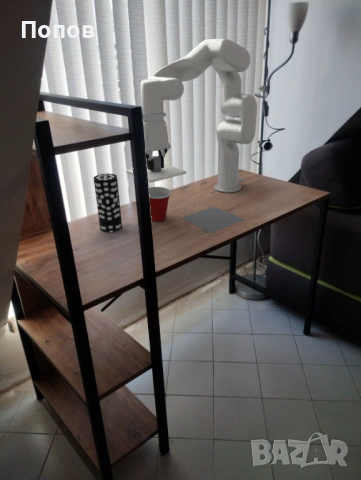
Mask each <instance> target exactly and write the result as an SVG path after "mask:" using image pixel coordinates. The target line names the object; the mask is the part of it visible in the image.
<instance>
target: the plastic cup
mask: <svg viewBox="0 0 361 480" xmlns="http://www.w3.org/2000/svg"><path fill="white" fill-rule="evenodd" d="M148 188H149V194H150V206H151V216H152V220H151V221H153V222H158V223H159V222H164V221H165V220H166V219H167V212H168V205H169V200H170V196H171V194H172V190H170V189H169V188H166V187H162V186H150V187H148Z"/></svg>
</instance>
